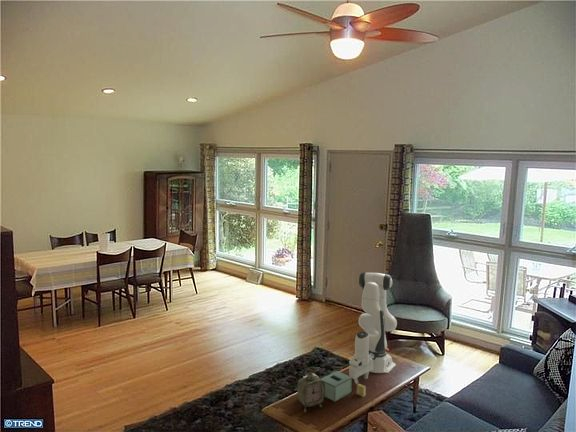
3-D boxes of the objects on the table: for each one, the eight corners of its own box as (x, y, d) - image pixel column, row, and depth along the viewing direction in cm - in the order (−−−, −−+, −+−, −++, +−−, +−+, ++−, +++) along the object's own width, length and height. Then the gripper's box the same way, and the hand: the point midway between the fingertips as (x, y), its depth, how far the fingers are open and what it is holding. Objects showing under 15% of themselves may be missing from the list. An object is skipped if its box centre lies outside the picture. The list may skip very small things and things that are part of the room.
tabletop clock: (303, 414, 258) (303, 372, 255) (295, 407, 266) (295, 366, 263) (324, 407, 265) (325, 367, 262) (316, 400, 273) (316, 361, 270)
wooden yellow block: (359, 392, 282) (359, 383, 282) (365, 395, 279) (365, 386, 278) (356, 394, 281) (356, 384, 280) (363, 397, 277) (363, 387, 277)
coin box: (336, 385, 291) (336, 370, 290) (351, 392, 283) (351, 377, 282) (319, 394, 280) (320, 379, 279) (334, 401, 272) (334, 386, 271)
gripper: (367, 352, 286) (367, 373, 288) (347, 362, 272) (346, 384, 273) (376, 355, 282) (375, 377, 283) (355, 365, 268) (355, 387, 269)
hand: (361, 380), depth 278 cm, fingers open, 8 cm apart
